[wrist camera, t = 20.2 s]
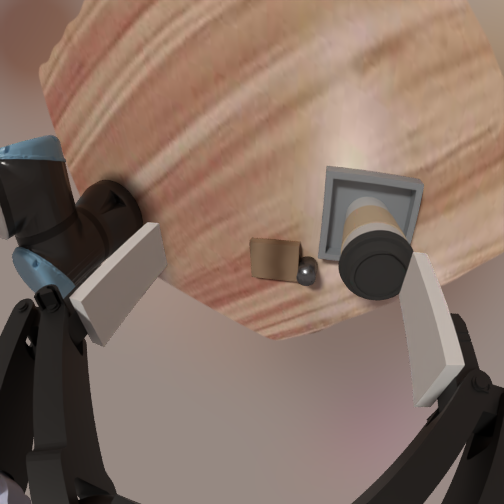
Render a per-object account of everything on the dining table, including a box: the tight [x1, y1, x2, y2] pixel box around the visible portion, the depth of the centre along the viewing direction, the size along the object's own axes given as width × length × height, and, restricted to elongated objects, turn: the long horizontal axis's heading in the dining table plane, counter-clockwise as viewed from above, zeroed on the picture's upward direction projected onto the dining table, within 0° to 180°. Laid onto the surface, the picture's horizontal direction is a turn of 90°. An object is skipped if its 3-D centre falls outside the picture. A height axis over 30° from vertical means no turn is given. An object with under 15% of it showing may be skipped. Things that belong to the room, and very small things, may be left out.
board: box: [250, 238, 300, 282], centre depth 49 cm, size 8×7×2 cm
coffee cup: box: [339, 197, 413, 300], centre depth 34 cm, size 9×9×15 cm
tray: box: [318, 166, 424, 261], centre depth 40 cm, size 14×14×2 cm
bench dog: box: [296, 257, 317, 286], centre depth 47 cm, size 3×3×4 cm
